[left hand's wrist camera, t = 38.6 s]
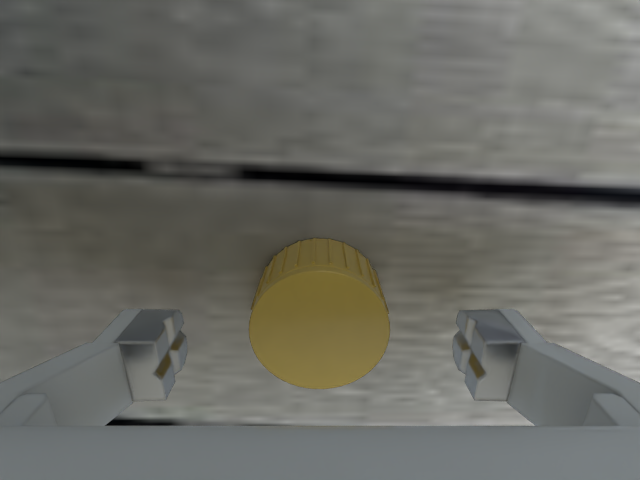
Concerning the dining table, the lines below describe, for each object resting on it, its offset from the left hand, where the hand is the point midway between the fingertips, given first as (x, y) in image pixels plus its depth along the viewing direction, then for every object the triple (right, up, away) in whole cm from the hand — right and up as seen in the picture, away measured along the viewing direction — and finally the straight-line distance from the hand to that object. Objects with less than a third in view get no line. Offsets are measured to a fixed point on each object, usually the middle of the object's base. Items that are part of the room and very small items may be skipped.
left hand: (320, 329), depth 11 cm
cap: (0, 0, 0) cm, 0 cm away
